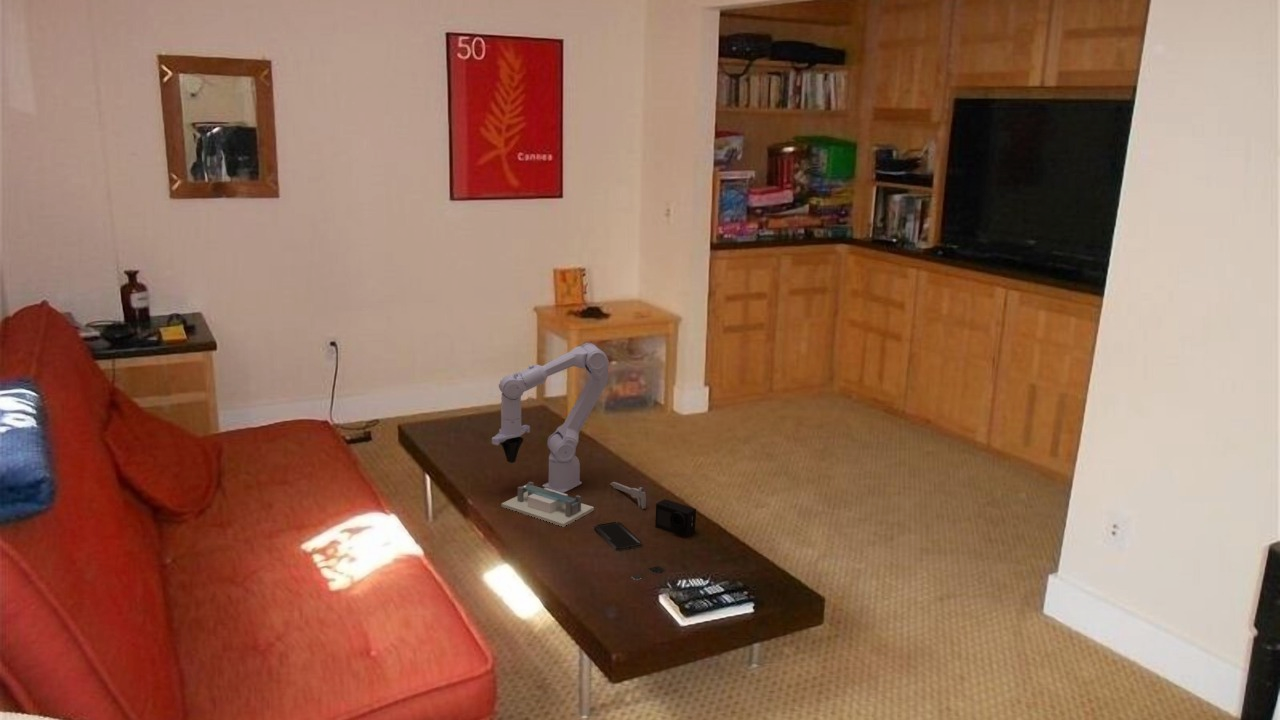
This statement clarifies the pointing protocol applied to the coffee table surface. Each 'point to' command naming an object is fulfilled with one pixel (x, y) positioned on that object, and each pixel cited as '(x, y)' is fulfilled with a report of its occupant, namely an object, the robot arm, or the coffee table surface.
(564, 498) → the retention strap
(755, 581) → the coffee table surface
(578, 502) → the socket board
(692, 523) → the digital camera
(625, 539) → the phone
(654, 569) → the circuit board
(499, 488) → the coffee table surface
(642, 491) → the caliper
